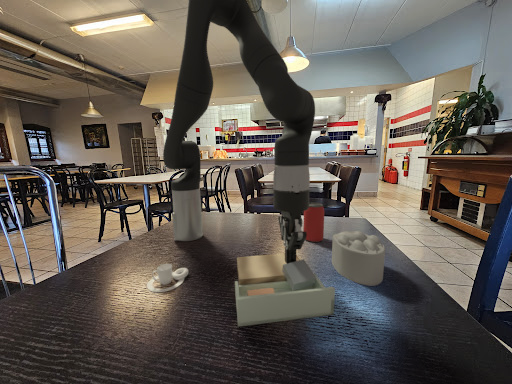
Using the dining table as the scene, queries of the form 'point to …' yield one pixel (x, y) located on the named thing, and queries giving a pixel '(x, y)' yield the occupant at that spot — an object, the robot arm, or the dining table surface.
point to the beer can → (314, 222)
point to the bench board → (261, 269)
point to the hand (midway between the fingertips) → (290, 263)
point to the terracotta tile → (260, 291)
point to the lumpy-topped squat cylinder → (358, 257)
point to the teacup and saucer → (167, 277)
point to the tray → (282, 302)
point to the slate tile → (298, 274)
